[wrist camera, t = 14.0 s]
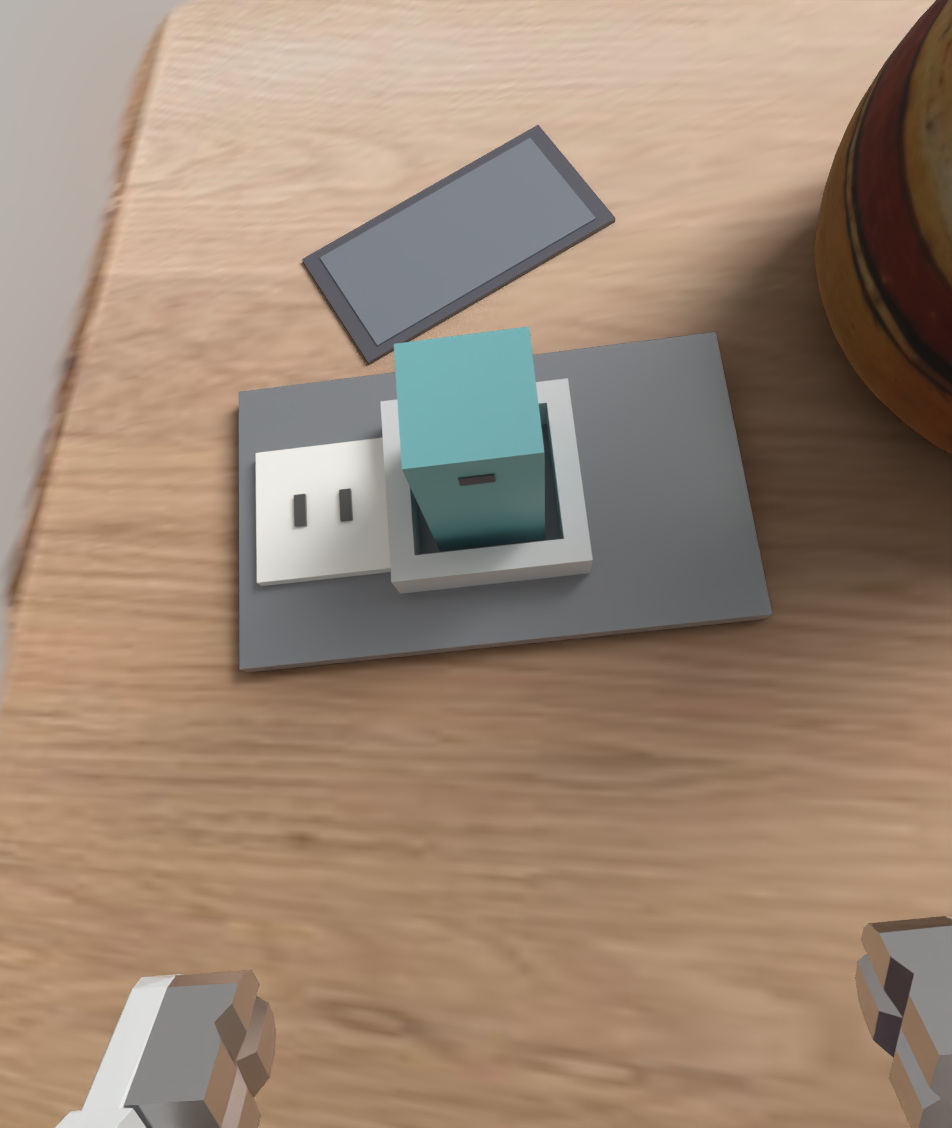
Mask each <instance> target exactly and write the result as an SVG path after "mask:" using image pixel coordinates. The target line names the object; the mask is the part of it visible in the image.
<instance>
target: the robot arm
mask: <svg viewBox="0 0 952 1128" xmlns="http://www.w3.org/2000/svg"><path fill="white" fill-rule="evenodd" d="M861 941H862V943H863V946H864V948H865V950H866V952H867V954H866V955H865V956H863V957H862V958H861V959H860V960H859V961H857V968H856V977H855V979H856V986H857V993H858V1000H859V1003H860V1006H861V1009H862V1013H863V1016H864V1019H865V1021H866V1024H867V1026H868V1029H869V1031H870V1034H871V1036H872V1038H873V1040H874V1041H875V1042H876V1043H877V1044H878V1045H880V1046H881V1047H882V1048H883V1049H884V1050H885V1051H886V1052H888V1053H889V1054H890V1055H891V1056H892V1057H893V1058H894V1059H893V1064H892V1068H891V1073H890V1077H889V1079H890V1081H891V1083H892V1085H893V1088H894V1090H895V1092H896V1095H897V1097H898V1099H899V1102H900V1104H901V1106H902V1109H903V1111H904V1113H905V1115H906V1118H907V1120H908V1122H909V1125H910V1127H911V1128H952V917H946V916H941V917H931V918H920V919H909V920H899V921H888V922H877V923H868V924H867V925H866V926H865V927H864V928H863V933H862V938H861ZM258 988H259V982H258V980H257V978H256V976H255V974H254V973H253V971H252V970H242V971H228V972H214V973H200V974H186V975H182V974H175V975H163V976H151V977H141V979H140V980H139V981H138V982H137V984H136V985H135V986H134V988H133V989H132V990H131V992H130V994H129V996H128V999H127V1001H126V1004H125V1006H124V1008H123V1011H122V1013H121V1016H120V1018H119V1020H118V1023H117V1025H116V1028H115V1030H114V1032H113V1035H112V1037H111V1040H110V1042H109V1044H108V1047H107V1049H106V1052H105V1054H104V1056H103V1059H102V1061H101V1064H100V1066H99V1068H98V1071H97V1073H96V1076H95V1078H94V1080H93V1083H92V1085H91V1088H90V1090H89V1092H88V1095H87V1097H86V1100H85V1102H84V1104H83V1107H82V1109H81V1110H77V1111H70V1112H69V1113H68V1114H67V1115H66V1116H65V1117H64V1118H63V1119H62V1120H61V1121H60V1123H59V1124H58V1125H57V1126H56V1127H55V1128H258V1126H259V1121H260V1117H261V1114H260V1112H259V1109H258V1106H257V1104H256V1101H255V1099H254V1096H255V1095H256V1094H257V1093H258V1091H259V1090H260V1089H261V1088H262V1087H263V1085H264V1084H265V1083H266V1082H267V1080H268V1079H269V1078H270V1073H271V1068H272V1064H273V1059H274V1054H275V1035H276V1028H275V1022H274V1016H273V1012H272V1010H271V1008H270V1006H269V1003H267V1002H266V1001H264V1000H262V999H261V998H259V997H257V992H258Z"/></svg>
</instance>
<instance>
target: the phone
mask: <svg viewBox="0 0 952 1128" xmlns="http://www.w3.org/2000/svg"><path fill="white" fill-rule="evenodd" d="M614 222H615V217H614V216H613V215H612V213H611V212H610V211H609V210H608V209H607V207H606V206H605V205H604V204H603V203H602V201H601V200H600V199H599V198H598V197H597V195H596V194H595V193H594V192H593V190H592V189H591V188H590V187H589V186H588V184H587V183H586V182H585V181H584V180H583V178H582V177H581V176H580V175H579V174H578V172H577V171H576V170H575V169H574V167H573V166H572V165H571V164H570V163H569V161H568V160H567V159H566V158H565V157H564V155H563V154H562V153H561V152H560V151H559V149H558V148H557V147H556V146H555V144H554V143H553V142H552V141H551V140H550V138H549V137H548V136H547V135H546V134H545V132H544V131H543V130H542V129H541V128H540V126H539V125H537V126H535V127H533V128H532V129H530V130H528V131H526V132H525V133H523V134H521V135H519V136H518V137H516V138H514V139H512V140H510V141H509V142H507V143H505V144H503V145H502V146H500V147H498V148H496V149H495V150H493V151H491V152H489V153H488V154H486V155H484V156H482V157H481V158H479V159H477V160H475V161H474V162H472V163H470V164H468V165H467V166H465V167H463V168H461V169H460V170H458V171H456V172H454V173H453V174H451V175H449V176H447V177H446V178H444V179H442V180H440V181H439V182H437V183H435V184H433V185H432V186H430V187H428V188H426V189H425V190H423V191H421V192H419V193H418V194H416V195H414V196H412V197H410V198H409V199H407V200H405V201H403V202H402V203H400V204H398V205H396V206H395V207H393V208H391V209H389V210H388V211H386V212H384V213H382V214H381V215H379V216H377V217H375V218H374V219H372V220H370V221H368V222H367V223H365V224H363V225H361V226H360V227H358V228H356V229H354V230H353V231H351V232H349V233H347V234H346V235H344V236H342V237H340V238H339V239H337V240H335V241H333V242H332V243H330V244H328V245H326V246H325V247H323V248H321V249H319V250H317V251H316V252H314V253H312V254H310V255H309V256H307V257H305V258H303V259H302V261H303V263H304V264H305V266H306V267H307V269H308V270H309V272H310V273H311V275H312V277H313V278H314V280H315V281H316V283H317V284H318V286H319V287H320V289H321V290H322V292H323V294H324V295H325V297H326V298H327V300H328V301H329V303H330V304H331V306H332V308H333V309H334V311H335V312H336V314H337V315H338V317H339V318H340V320H341V322H342V323H343V325H344V326H345V328H346V329H347V331H348V332H349V334H350V335H351V337H352V339H353V340H354V342H355V343H356V345H357V346H358V348H359V349H360V351H361V353H362V354H363V356H364V357H365V359H366V360H367V362H368V363H369V364H371V363H373V362H375V361H376V360H378V359H380V358H382V357H383V356H385V355H387V354H388V353H390V352H392V351H394V344H397V343H404V342H409V341H411V340H412V339H414V338H416V337H418V336H419V335H421V334H423V333H425V332H426V331H428V330H430V329H431V328H433V327H435V326H437V325H438V324H440V323H442V322H443V321H445V320H447V319H449V318H450V317H452V316H454V315H456V314H457V313H459V312H461V311H462V310H464V309H466V308H468V307H469V306H471V305H473V304H474V303H476V302H478V301H480V300H481V299H483V298H485V297H486V296H488V295H490V294H492V293H493V292H495V291H497V290H499V289H500V288H502V287H504V286H505V285H507V284H509V283H511V282H512V281H514V280H516V279H517V278H519V277H521V276H523V275H524V274H526V273H528V272H529V271H531V270H533V269H535V268H536V267H538V266H540V265H542V264H543V263H545V262H547V261H548V260H550V259H552V258H554V257H555V256H557V255H559V254H560V253H562V252H564V251H566V250H567V249H569V248H571V247H572V246H574V245H576V244H578V243H579V242H581V241H583V240H585V239H586V238H588V237H590V236H591V235H593V234H595V233H597V232H598V231H600V230H602V229H603V228H605V227H607V226H609V225H610V224H612V223H614Z"/></svg>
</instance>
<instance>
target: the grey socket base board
mask: <svg viewBox="0 0 952 1128" xmlns="http://www.w3.org/2000/svg"><path fill="white" fill-rule="evenodd" d="M533 363H534V371H535V380H536V388H537V396H538V404H539V412H540V420H541V428H542V436H543V445H544V457H545V539H543V540H534V541H525V542H516V543H507V544H498V545H489V546H480V547H471V548H462V549H453V550H444V551H440V550H439V548H438V546H437V543H436V541H435V539H434V537H433V535H432V533H431V531H430V528H429V526H428V524H427V522H426V520H425V518H424V516H423V513H422V511H421V509H420V507H419V505H418V503H417V501H416V498H415V496H414V494H413V492H412V490H411V488H410V486H409V483H408V481H407V479H406V477H405V475H404V473H403V471H402V463H401V448H400V433H399V418H398V403H397V388H396V373H395V372H393V373H385V374H377V375H369V376H361V377H353V378H345V379H337V380H330V381H322V382H314V383H306V384H298V385H290V386H282V387H274V388H266V389H258V390H250V391H242V392H239V661H240V670H243V671H246V672H258V671H268V670H277V669H287V668H297V667H306V666H316V665H326V664H335V663H345V662H355V661H364V660H374V659H384V658H394V657H403V656H413V655H423V654H432V653H442V652H452V651H461V650H471V649H481V648H490V647H500V646H510V645H519V644H529V643H539V642H549V641H558V640H568V639H578V638H587V637H597V636H607V635H616V634H626V633H636V632H645V631H655V630H665V629H675V628H684V627H694V626H704V625H713V624H723V623H733V622H742V621H752V620H762V619H766V618H768V617H769V616H770V615H772V610H771V605H770V600H769V595H768V590H767V585H766V580H765V575H764V570H763V565H762V560H761V555H760V550H759V545H758V540H757V535H756V530H755V525H754V520H753V515H752V510H751V505H750V500H749V495H748V490H747V485H746V480H745V475H744V470H743V465H742V460H741V455H740V450H739V445H738V440H737V435H736V430H735V425H734V420H733V415H732V410H731V405H730V400H729V395H728V390H727V385H726V381H725V376H724V371H723V366H722V361H721V356H720V351H719V346H718V341H717V336H716V332H710V333H702V334H694V335H686V336H678V337H670V338H663V339H655V340H647V341H639V342H631V343H623V344H615V345H607V346H599V347H591V348H583V349H575V350H567V351H559V352H552V353H544V354H536V355H533Z"/></svg>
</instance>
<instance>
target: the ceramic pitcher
mask: <svg viewBox="0 0 952 1128" xmlns="http://www.w3.org/2000/svg"><path fill="white" fill-rule="evenodd" d="M815 268H816V276H817V284H818V288H819V292H820V296H821V300H822V303H823V306H824V309H825V311H826V314H827V317H828V320H829V323H830V326H831V328H832V331H833V334H834V336H835V338H836V339H837V341H838V343H839V345H840V346H841V348H842V350H843V352H844V354H845V355H846V357H847V359H848V361H849V362H850V364H851V366H852V367H853V368H854V370H855V371H856V372H857V374H858V375H859V377H860V378H861V379H862V381H863V382H864V383H865V385H866V386H867V387H868V388H869V389H870V390H871V391H872V392H873V393H874V394H875V395H876V396H877V398H878V399H879V400H880V401H881V402H882V403H883V404H884V405H886V406H887V407H888V408H889V409H890V410H891V411H892V412H893V413H894V414H895V415H896V416H898V417H899V418H900V419H901V420H902V421H903V422H904V423H905V424H906V425H907V426H909V427H910V428H911V429H913V430H914V431H916V432H917V433H918V434H920V435H921V436H923V437H924V438H925V439H927V440H928V441H930V442H931V443H932V444H934V445H935V446H937V447H938V448H940V449H942V450H944V451H946V452H948V453H950V454H952V0H936V1H935V2H934V3H933V4H932V6H931V7H930V8H929V9H928V10H927V11H926V12H925V13H924V14H923V15H922V16H921V17H920V18H919V20H918V21H917V22H916V23H915V25H914V26H913V27H912V28H911V30H910V31H909V32H908V33H907V35H906V36H905V37H904V38H903V40H902V41H901V42H900V43H899V45H898V46H897V47H896V49H895V50H894V51H893V53H892V54H891V55H890V57H889V58H888V59H887V61H886V62H885V63H884V65H883V67H882V68H881V70H880V71H879V73H878V74H877V76H876V78H875V79H874V81H873V82H872V84H871V86H870V87H869V89H868V90H867V92H866V93H865V95H864V97H863V98H862V100H861V101H860V103H859V105H858V107H857V109H856V111H855V113H854V115H853V117H852V119H851V121H850V123H849V124H848V127H847V129H846V131H845V134H844V136H843V138H842V140H841V143H840V145H839V147H838V150H837V152H836V154H835V158H834V161H833V164H832V167H831V170H830V173H829V176H828V179H827V182H826V186H825V189H824V193H823V198H822V203H821V208H820V213H819V218H818V223H817V229H816V236H815Z"/></svg>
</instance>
